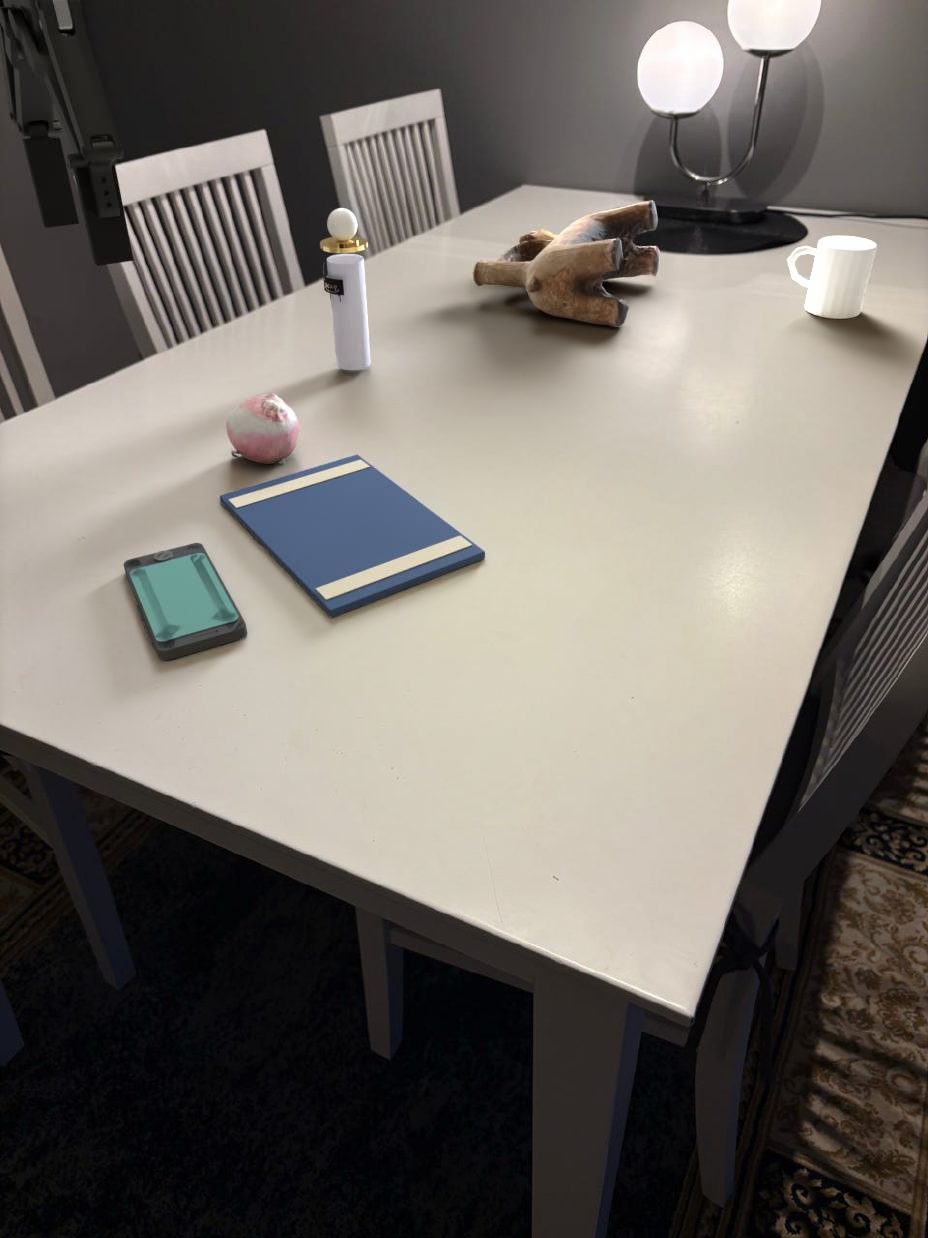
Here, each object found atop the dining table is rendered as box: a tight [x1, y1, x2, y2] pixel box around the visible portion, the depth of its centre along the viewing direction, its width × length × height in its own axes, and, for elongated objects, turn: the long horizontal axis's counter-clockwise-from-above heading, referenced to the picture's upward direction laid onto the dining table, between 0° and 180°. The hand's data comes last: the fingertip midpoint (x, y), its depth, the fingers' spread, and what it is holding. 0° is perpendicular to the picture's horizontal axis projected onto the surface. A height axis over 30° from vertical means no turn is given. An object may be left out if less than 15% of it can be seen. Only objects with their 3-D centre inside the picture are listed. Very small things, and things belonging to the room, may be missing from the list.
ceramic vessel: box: [472, 199, 661, 328], centre depth 142 cm, size 13×31×25 cm
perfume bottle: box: [319, 207, 372, 371], centre depth 115 cm, size 6×6×20 cm
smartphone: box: [122, 542, 248, 661], centre depth 78 cm, size 7×1×15 cm
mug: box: [786, 235, 878, 320], centre depth 136 cm, size 8×12×10 cm, turn 74°
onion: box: [225, 392, 300, 465], centre depth 98 cm, size 8×8×7 cm
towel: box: [219, 454, 486, 618], centre depth 88 cm, size 24×16×1 cm, turn 35°
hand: (86, 242), depth 72 cm, fingers open, 13 cm apart
